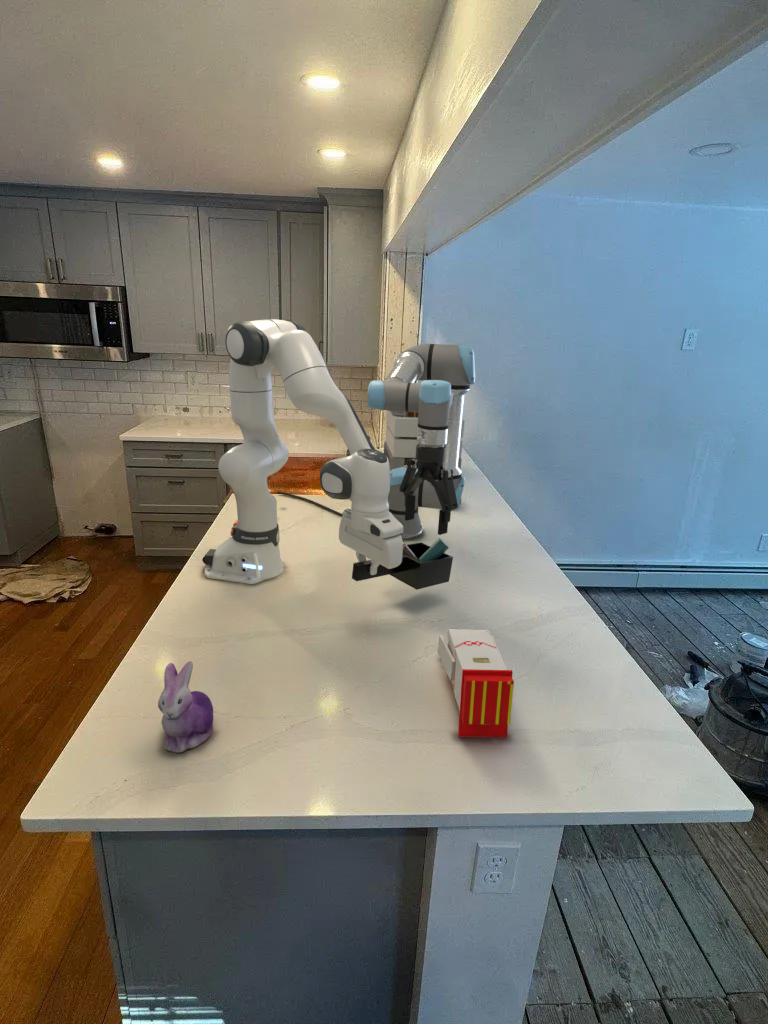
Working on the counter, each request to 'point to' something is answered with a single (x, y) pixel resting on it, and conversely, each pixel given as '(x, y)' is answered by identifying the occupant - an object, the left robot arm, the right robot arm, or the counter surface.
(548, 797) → the counter surface
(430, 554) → the teal peg
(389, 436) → the white slatted crate
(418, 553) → the black box with handle
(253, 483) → the left robot arm
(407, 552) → the walnut peg
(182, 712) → the figurine
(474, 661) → the toy
